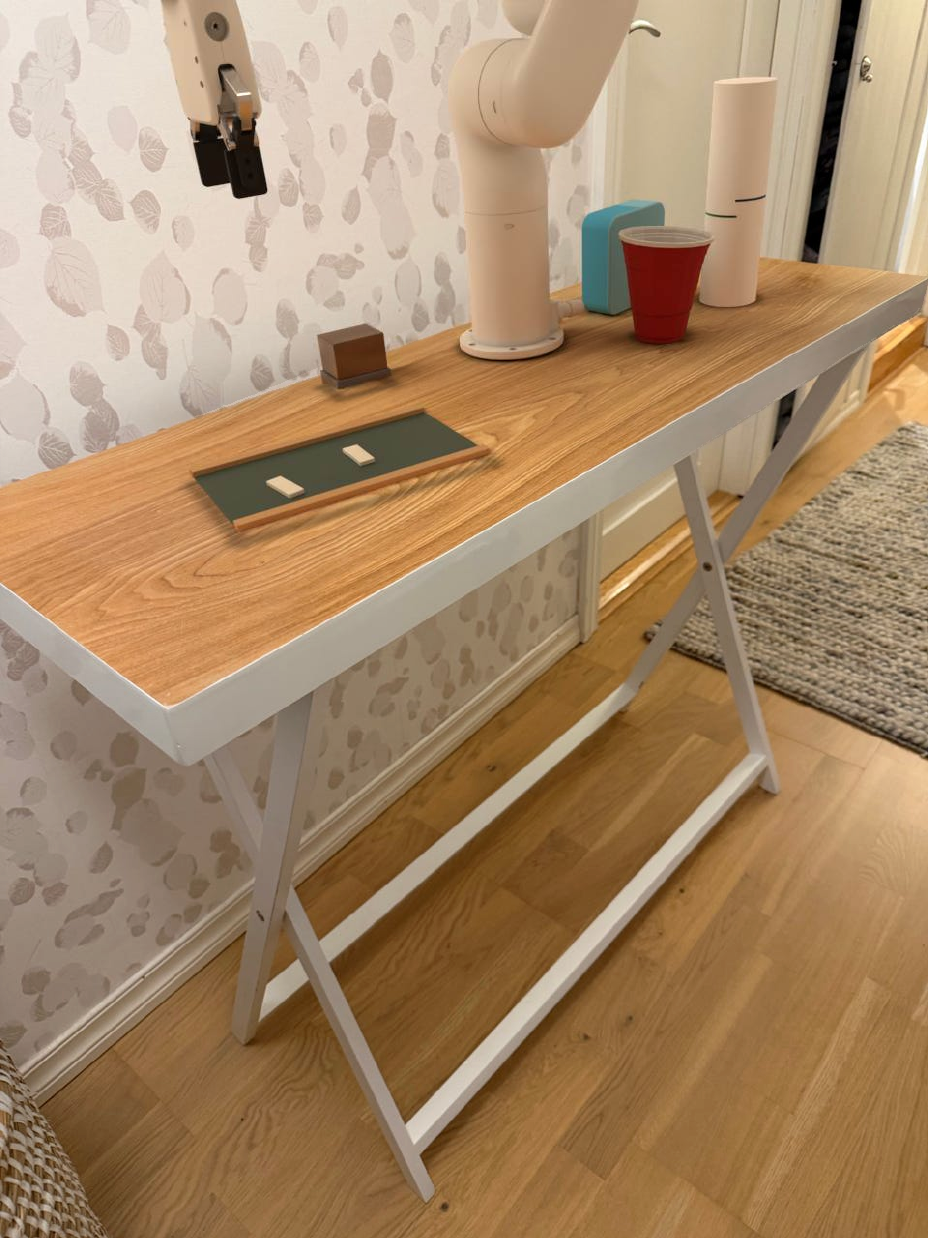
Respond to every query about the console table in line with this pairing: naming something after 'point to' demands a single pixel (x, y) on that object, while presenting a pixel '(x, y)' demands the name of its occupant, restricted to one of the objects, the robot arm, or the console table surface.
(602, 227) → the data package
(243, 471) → the chalkboard
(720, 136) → the cylindrical container
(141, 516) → the console table surface
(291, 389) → the console table surface
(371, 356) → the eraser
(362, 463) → the chalk streak
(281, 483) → the chalk streak
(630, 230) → the plastic cup
